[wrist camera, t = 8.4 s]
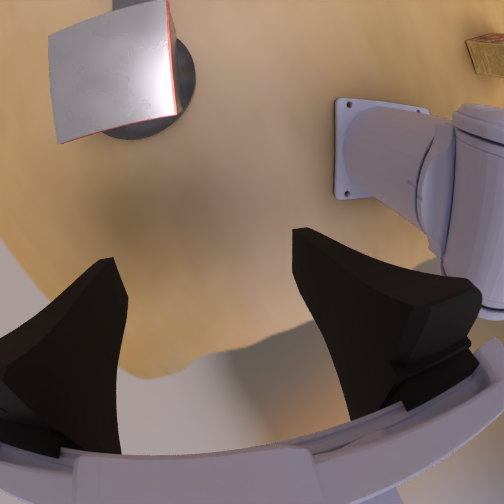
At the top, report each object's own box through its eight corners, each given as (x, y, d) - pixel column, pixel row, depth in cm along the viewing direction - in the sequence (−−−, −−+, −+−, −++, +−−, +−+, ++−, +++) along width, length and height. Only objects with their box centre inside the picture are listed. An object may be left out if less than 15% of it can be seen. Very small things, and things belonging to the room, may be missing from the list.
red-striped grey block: (176, 29, 11) (167, -3, 7) (183, 111, 14) (176, 115, 9) (90, 50, 11) (47, 35, 6) (98, 130, 14) (57, 145, 9)
